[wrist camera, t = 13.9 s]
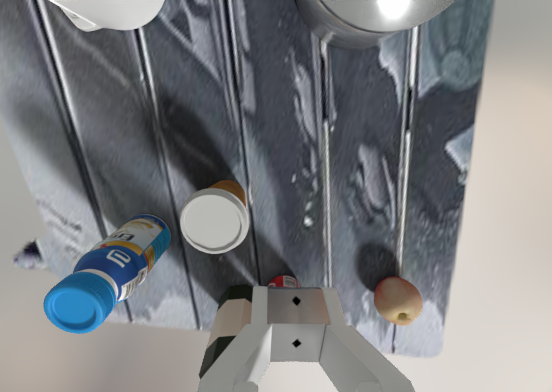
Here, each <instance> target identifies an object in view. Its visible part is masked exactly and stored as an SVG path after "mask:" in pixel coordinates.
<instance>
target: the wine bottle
mask: <svg viewBox="0 0 552 392" xmlns="http://www.w3.org/2000/svg"><path fill="white" fill-rule="evenodd" d="M252 296H253V288H252V287H250V286H249V285H247V284H246V285H234V286H230V287H229V288H228V289H227V291H226V292H225V293H224V294H223V295H222V296H221V299H220V303H219V306H218V310H217V313H216V317H215V320H214V324H213V327H212V331H211V334H210V338H209V342H208V345H207V349H206V352H205V355H204V359H203V362H202V366H201V370H200V373H199V377H200V379H201V378H202V377H203V376H204V374H205V373H206V372H207V371H208V370H209V368H210V367H211V366H212V365H213V364H214V362H215V361H216V360H217V359H218V358H219V356H220V355H221V354H222V353H223V351H224V350H225V349H226V348H227V347H228V345H229V344H230V343H231V342H232V341H233V339H234V338H235V337H236V336H237V335H238V333H239V332H240V331H241V330H242V329H243V327H244V326H245V325H246V324H251V310H252Z"/></svg>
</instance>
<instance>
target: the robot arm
mask: <svg viewBox="0 0 552 392" xmlns="http://www.w3.org/2000/svg"><path fill="white" fill-rule="evenodd" d="M50 1H51V2H53V3H55V4H56V5H58V6H59V7H60V8H61V9H62V10H63V11H64V13H65V14H66V15H67V16H68V17H69V18H70V20H71V21H72V22H73V23H74V24H75V25H76V26H77V27H78V28H79V29H81V30H83V31H94V30H97V29H100V28H111V29H116V30H132V29H136V28H139V27H141V26H143V25H145V24H147V23H148V22H150V21H151V20H152V19H153V18H154V17H155V16H156V15H157V13H158V12H159V10H160V9H161V7H162V5H163V3H164V1H165V0H50ZM280 361H281V362H285V361H300V362H319V364H320V365H321V367H322V368H323V370H324V371H325V373H326V374H327V375H328V377H329V378H330V380H331V381H332V382H333V384H334V386H335V387H336V388H337V390H338V391H339V392H415V391H414V388H413V386H412V384H411V381H410V380H408V379H407V378H406V377H405V376H404V375H403V374H402V373H401V372H400V371H399V370H398V369H397V368H396V367H395V366H394V365H393V364H392V363H391V362H389V361H388V360H387V359H386V358H385V357H384V356H383V355H382V354H381V353H380V352H379V351H378V350H377V349H376V348H375V347H374V346H373V345H372V344H370V343H369V342H368V341H367V340H366V339H365V338H364V337H363V336H362V335H361V334H360V333H359V332H358V331H357V330H356V329H355V328H354V327H353V326H351V325H347V323H346V320H345V317H344V313H343V310H342V307H341V303H340V300H339V297H338V294H337V290H336V289H335V288H325V287H321V288H317V287H273V286H268V288H267V287H265V286H254V287H253V296H252V310H251V324H246V325H245V326H244V327H243V329H242V330H241V331H240V332H239V333H238V335H237V336H236V337H235V338H234V339H233V341H232V342H231V343H230V344H229V345H228V347H227V348H226V349H225V350H224V351H223V353H222V354H221V355H220V356H219V358H218V359H217V360H216V361H215V362H214V364H213V365H212V366H211V367H210V368H209V370H208V371H207V372H206V373H205V374H204V376H203V377H202V378H201V379H200V383H199V387H198V392H258V384H259V382H260V380H261V379H262V376H263V375H264V373H265V371H266V369H267V368H268V366H269V364H270V362H280Z"/></svg>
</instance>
